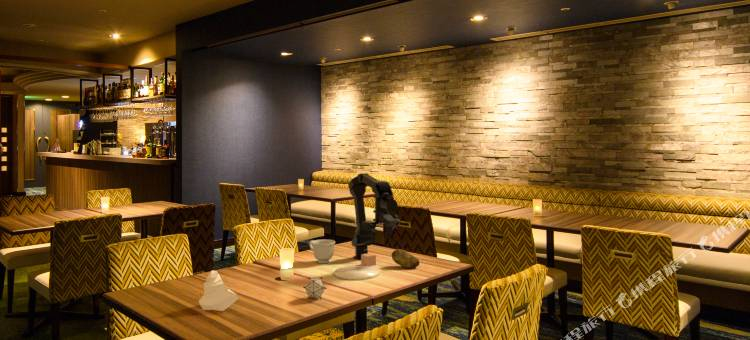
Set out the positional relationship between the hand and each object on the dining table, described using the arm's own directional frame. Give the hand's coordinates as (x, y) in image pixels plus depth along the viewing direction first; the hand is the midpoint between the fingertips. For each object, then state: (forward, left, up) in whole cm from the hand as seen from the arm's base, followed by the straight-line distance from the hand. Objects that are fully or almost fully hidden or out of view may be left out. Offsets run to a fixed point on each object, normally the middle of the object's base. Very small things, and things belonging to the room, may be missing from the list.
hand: (380, 241), depth 254 cm
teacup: (-26, -17, -12) cm, 33 cm away
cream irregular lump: (+9, -83, -12) cm, 84 cm away
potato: (+8, +8, -12) cm, 17 cm away
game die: (+23, -50, -12) cm, 56 cm away
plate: (+4, -17, -12) cm, 21 cm away
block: (-6, -3, -12) cm, 14 cm away
